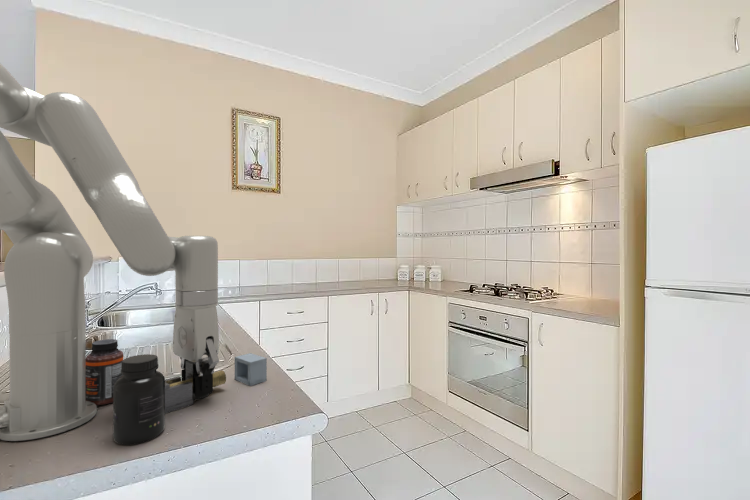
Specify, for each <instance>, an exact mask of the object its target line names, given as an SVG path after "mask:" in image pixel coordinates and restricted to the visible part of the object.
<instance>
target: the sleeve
mask: <svg viewBox="0 0 750 500" xmlns="http://www.w3.org/2000/svg"><path fill="white" fill-rule="evenodd" d="M180 381H182V376H179V375H178V376H174V377H170V378H167V379H166V378H165V414H168V413H170V412H174V411H176V410H178V411H179V410H180V409H184V408H186V407H189V406H192V405H194V401H193V400H192V382H186V383H183V384H179V385H175V386H172V387H170V384H172V383H176V382H180Z"/></svg>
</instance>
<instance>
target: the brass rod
mask: <svg viewBox="0 0 750 500" xmlns="http://www.w3.org/2000/svg"><path fill="white" fill-rule="evenodd" d="M202 358H203V357H202ZM202 358H201V359H202ZM205 363H207V361H204V362H202V367H203V365H204V364H205ZM195 376H198V375H197V368H196V362H191V361H186V380H184V381H182V380H181V381H180V382H176V383H172V384H170V387H172V386H175V385H179V384H183V383H186V382H192V400H193V402H194V401H198V400H200V399H204V398H206V397H207V398H208V397H209V394H208V395H205V396H201V397H196V396H195ZM226 382H227V375H226V373H225V371H224V370H223V369H222V370H218V371H214V373H213V388H215V387H218V386H222V385H225V384H226Z"/></svg>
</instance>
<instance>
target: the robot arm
mask: <svg viewBox="0 0 750 500" xmlns="http://www.w3.org/2000/svg"><path fill="white" fill-rule="evenodd" d="M0 128H1V129H4V130H6V131H8V132H11V133H14V134H16V135H19V136H22V137H25V138H28V139H30V140H32V141H35V142H38V143H40V144H43V145H45V146H49V147H51V148H52V150H53V151H54V153H55V154H56V155H57V157H58V158H59V160H60V161H61V163H62V165H63V166H64V168H65V169H66V171H67V172H68V174H69V176H70V177H71V179H72V181H73V183H74V184H75V185H76V187H77V188H78V190H79V192H80V193H81V195H82V197H83V198H84V200H85V202H86V203H87V204H88V206H89V207H90V209H91V210H92V212H93V213H94V214H95V216H96V217H97V220H98V221H99V222H100V224H101V225H102V227H103V229H104V231H105V232H106V233H107V235H108V237H109V239H110V240H111V242H112V243H113V244H114V246H115V247H116V249H117V252H118V253H119V255H120V256H121V257H122V259H123V261H124V262H125V263H126V265H127V266H128V267H129V268H130V269H131V270H132V271H133V272H135V273H136V274H138V275H141V276H146V277H153V276H159V275H161V274H162V275H163V274H164V273H165V272H172V271H174V273H175V276H174V277H175V282H174V284H175V285H174V286H175V290H174V293H175V294H174V296H175V297H174V298H175V299H174V303H175V306H174V307H175V311H174V318H173V330H172V353H173V354H174V355H175V356H177V357H179V359H180V369H181V381H184V380H186V361H191V362H196V368H197V375H198V376H195V396H196V397H201V396H205V395H208V396H209V395H210V394H212V393H213V392H214V387H213V373H214V372H215V368H216V366H217V365H218V364H219V362H220V358H219V356H218V355H219V350H220V332H219V331H220V329H219V317H218V316H219V315H218V309H217V306H218V305H219V285H218V284H219V245H218V241H217V239H216V238H215V237H213V236H209V235H207V236H206V235H184V236H179V237H176V236H169V235H168V234H167V233H166V231H165V229H164V228H163V226H162V224H161V223H160V221H159V219H158V217H157V216H156V214H155V213H154V211H153V209H152V208H151V206H150V204H149V203H148V200H147V199H146V197H145V195H144V194H143V192H142V190H141V187H140V185H139V182H138V180H137V178H136V176H135V174H134V172H133V171H132V169H131V168H130V166H129V165H128V163H127V161H126V159H125V158H124V156H123V154H122V153H121V151H120V150H119V148H118V147H117V145H116V144H115V142H114V140H113V138H112V136H111V135H110V132H109V131H108V129H107V127H106V126H105V125H104V123H103V121H102V120H101V118H100V116H99V115H98V113H97V112H96V110H95V109H94V107H93V106H92V105H91V103H89V102H88V101H86V100H85V99H83V98H82V97H81V96H78V95H76V94H74V93H71V92H65V91H57V92H52V93H51V92H50V93H47V94H46V95H44V94H42V93H39V92H37V91H36V90H35V91H34V90H33V89H30V88H28V87H25V86H23V85H21V84H20V83H19V82H18V80H17V79H16V78H15V77H14V76H13V75H12V74H11V73H10V72H9V71H8V69H7V68H6V67H5V66H4V65H3V64H2V63H1V62H0ZM0 230H2V231H3V232H4V233H5V234H6V236H7V237H8V238H9V240H10V241H11V242H12V244H13V245H12V247H10V249H9V251H8V252H7V254H6V257H5V260H4V265H3V266H4V267H3V268H4V269H3V272H4V273H3V276H4V283H5V291H6V293H7V294H6V295H7V303H8V334H9V399H6V400H4V401H3V403H4V404H3V405H2V406H0V440H1V441H7V442H8V441H9V442H19V441H20V442H22V441H23V442H24V441H30V440H36V439H43V438H47V437H51V436H53V435H54V436H55V435H58V434H61V433H64V432H67V431H69V430H73V429H75V428H77V427H80V426H82V425H83V424H85V423H87V422H89V421H90V420H92V419H93V418H94V417H95V416H96V414H97V412H98V411H97V410H98V406H96V404H95V403H93V402H90V401H86V357H87V355H86V353H87V352H86V351H87V348H86V347H87V345H86V344H87V343H86V341H87V340H86V337H87V336H86V333H87V331H86V330H87V329H86V326H87V325H86V296H85V282H84V281H85V280H84V279H85V277H86V276H87V275H88V274H89V272H90V271H91V270H92V267H93V263H94V256H93V252H92V249H91V247H90V245H89V244H88V242H87V240H86V239H85V237H84V236H83V234H82V233H81V231H80V229H79V228H78V226H77V225H76V223H75V222H74V220H73V219H72V217H71V216H70V214H69V212H68V211H67V209H66V208H65V206H64V205H63V203H62V202H61V200H60V198H58V196H57V195H56V194H55V193H54V192H53V191H52V190H51V189H50V188H49V187H48V186H46V185H44V184H43V183H41V182H39V181H38V180H37V179H35V178H34V177H33V176H32V175H31V174H30V172H29V171H28V170H27V168H26V167H25V165H24V164H23V163H22V161H21V159H20V158H19V157H18V154H16V152H15V150H14V148H13V147H12V145H11V142H9V140H8V139H7V138H6V135H4V133H3V132H2V130H0ZM203 356H206V357H203ZM201 358H202V359H201ZM204 361H207V363H205V364H204V365H203V367H202V362H204Z"/></svg>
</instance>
